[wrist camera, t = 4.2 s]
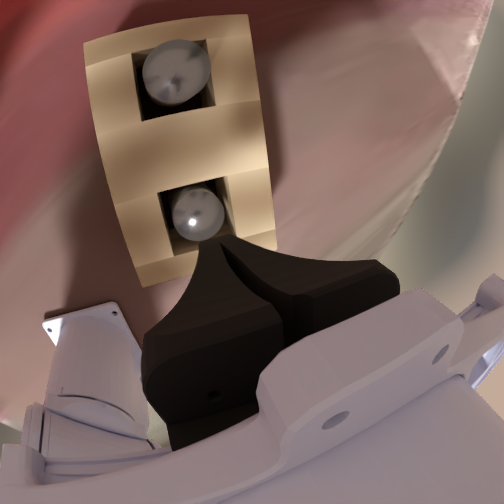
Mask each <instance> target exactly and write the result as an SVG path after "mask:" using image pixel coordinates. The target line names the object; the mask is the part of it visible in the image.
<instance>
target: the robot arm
mask: <svg viewBox="0 0 504 504" xmlns="http://www.w3.org/2000/svg"><path fill="white" fill-rule="evenodd" d="M198 247H199V252H198V258H197V262H196V266H195V269H194V272H193V275H192V278H191V280H190V282H189V284H188V286H187V288H186V290H185V292H184V294H183V295H182V297H181V298H180V300H179V301H178V303H177V304H176V305H175V306H174V308H173V309H172V310H171V311H170V312H169V313H168V314H167V315H166V316H165V317H164V318H163V319H162V320H161V321H160V322H159V323H158V324H156V325H155V326H154V327H153V328H152V329H151V330H149V331H148V332H147V333H145V335H144V340H143V347H142V350H141V349H140V347H139V345H138V343H137V341H136V340H135V338H134V336H133V334H132V332H131V330H130V328H129V326H128V324H127V322H126V320H125V318H124V316H123V314H122V312H121V310H120V308H119V306H118V304H117V303H115V302H108V303H104V304H100V305H97V306H93V307H89V308H86V309H82V310H78V311H75V312H71V313H67V314H63V315H60V316H56V317H52V318H48V319H45V320H44V321H43V323H42V325H43V327H44V329H45V330H46V332H47V333H48V335H49V336H50V338H51V339H52V341H53V342H54V344H55V345H56V349H55V353H54V357H53V361H52V365H51V370H50V374H49V379H48V384H47V390H46V395H45V401H44V404H43V405H41V404H39V403H37V402H34V404H33V405H30V406H27V408H26V413H25V418H24V424H23V430H22V437H21V444H7V443H5V444H3V446H2V455H1V464H0V465H1V466H0V504H504V421H503V419H502V418H501V417H500V416H499V415H498V414H497V413H496V412H495V411H494V410H493V409H492V408H491V406H490V405H489V404H488V403H487V402H486V401H485V400H484V399H483V398H482V397H481V396H480V395H479V394H478V393H477V392H476V391H475V389H476V388H477V387H478V386H479V385H480V384H481V383H482V381H483V380H484V379H485V378H486V377H487V376H488V374H489V373H490V372H491V371H492V370H493V368H494V367H495V366H496V365H497V363H498V362H499V361H500V360H501V358H502V357H503V356H504V280H503V279H501V278H500V277H498V276H497V275H496V274H492V275H491V276H490V277H488V278H487V279H486V280H485V281H484V282H483V283H482V284H481V285H480V287H479V289H478V292H477V294H476V298H475V301H474V302H473V303H472V304H470V305H469V306H468V307H467V308H466V309H464V310H463V311H462V312H460V313H459V314H458V315H456V314H455V313H453V312H452V311H451V310H450V309H448V308H447V307H446V306H445V305H444V304H442V303H441V302H440V301H438V300H437V299H436V298H435V297H433V296H432V295H431V294H429V293H428V292H427V291H425V290H424V289H423V288H420V289H415V290H411V291H407V292H404V293H402V294H400V284H399V279H398V278H397V276H396V275H395V273H393V272H392V271H391V270H389V269H388V268H387V267H385V266H384V265H382V264H381V263H380V262H379V261H377V260H376V259H373V260H358V261H326V260H315V259H306V258H300V257H295V256H290V255H286V254H282V253H278V252H275V251H272V250H269V249H266V248H263V247H260V246H258V245H255V244H253V243H250V242H248V241H246V240H243V239H241V238H239V237H237V236H234V235H232V234H226V235H222V236H219V237H215V238H211V239H208V240H204V241H200V242H199V244H198ZM113 311H116V312H117V313H113ZM49 328H50V329H49ZM51 329H52V330H51ZM147 401H148V402H149V403H150V405H151V406H152V407H153V408H154V410H155V411H156V412H157V413H158V415H159V416H160V417H161V418H162V420H163V421H164V422H165V423H166V425H167V430H168V435H169V440H170V445H171V446H169V447H164V448H161V446H160V445H159V444H158V443H157V442H156V441H154V440H152V439H147V435H146V434H147V432H148V428H149V414H148V405H147Z"/></svg>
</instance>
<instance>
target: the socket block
mask: <svg viewBox="0 0 504 504" xmlns="http://www.w3.org/2000/svg"><path fill="white" fill-rule="evenodd" d="M176 39H183V40H189V41H192V42H194V43H196V44H198V45H199V46H201V47H202V48H203V49H204V50H205V52H206V53H207V55H208V56H209V59H210V63H211V72H210V77H209V79H208V81H207V83H206V85H205V86H204V87H203V88H202V89H201V90H200V96H201V102H202V108H201V109H196V110H190V111H185V112H180V113H176V114H171V115H167V116H163V117H158V118H154V119H150V120H146V121H144V115H143V109H142V104H141V98H140V91H139V85H138V78H137V71H136V68H140V67H143V65H144V62H145V60H146V58H147V56H148V55H149V53H150V52H151V51H152V50H153V49H154V48H156V47H157V46H158V45H160V44H162V43H164V42H167V41H170V40H176ZM83 46H84V57H85V67H86V76H87V83H88V91H89V97H90V103H91V109H92V115H93V121H94V126H95V131H96V136H97V141H98V145H99V150H100V154H101V158H102V163H103V167H104V171H105V175H106V178H107V182H108V186H109V190H110V193H111V197H112V200H113V204H114V207H115V210H116V214H117V217H118V220H119V223H120V227H121V230H122V233H123V236H124V239H125V242H126V245H127V247H128V250H129V253H130V256H131V259H132V262H133V264H134V267H135V270H136V272H137V275H138V278H139V280H140V283H141V285H142V288H144V287H148V286H151V285H155V284H158V283H162V282H165V281H169V280H173V279H176V278H180V277H183V276H187V275H190V274H193V272H194V269H195V266H196V262H197V258H198V252H199V247H198V244H199V242H200V241H192V240H188V239H186V238H184V237H182V236H181V235H180V234H179V233H178V232H177V230H176V228H172V229H169V227H168V223H167V219H166V215H165V212H164V208H163V204H162V200H161V196H160V192H162V191H166V190H169V189H173V188H177V187H181V186H185V185H189V184H193V183H197V182H201V181H205V180H210V179H214V180H215V186H216V191H217V197H218V199H219V200H220V202H221V203H222V205H223V208H224V221H223V224H222V226H221V228H220V229H219V231H218V232H217V233H216V234H215V235H214V236H212V237H211V238H215V237H219V236H222V235H226V234H232V235H234V236H237V237H239V238H241V239H243V240H246V241H248V242H250V243H253V244H255V245H258V246H260V247H263V248H266V249H269V250H272V251H275V250H277V241H276V231H275V221H274V211H273V202H272V192H271V183H270V175H269V166H268V157H267V149H266V141H265V133H264V125H263V117H262V109H261V102H260V94H259V87H258V80H257V72H256V65H255V59H254V52H253V45H252V39H251V32H250V26H249V19H248V14H237V15H217V16H205V17H195V18H187V19H180V20H173V21H167V22H161V23H156V24H151V25H146V26H142V27H137V28H133V29H129V30H125V31H121V32H118V33H114V34H111V35H107V36H104V37H101V38H98V39H95V40H92V41H89V42H86V43H83ZM211 238H208V239H211ZM208 239H206V240H208ZM202 241H204V240H202Z"/></svg>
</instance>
